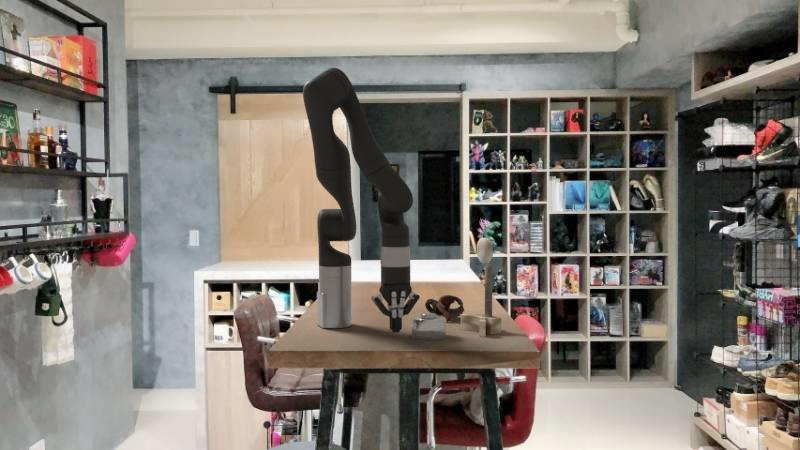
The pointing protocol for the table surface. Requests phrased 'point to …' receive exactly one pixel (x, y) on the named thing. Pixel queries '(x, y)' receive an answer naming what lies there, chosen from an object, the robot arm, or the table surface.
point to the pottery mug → (445, 306)
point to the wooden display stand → (485, 321)
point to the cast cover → (428, 327)
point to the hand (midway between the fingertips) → (395, 331)
